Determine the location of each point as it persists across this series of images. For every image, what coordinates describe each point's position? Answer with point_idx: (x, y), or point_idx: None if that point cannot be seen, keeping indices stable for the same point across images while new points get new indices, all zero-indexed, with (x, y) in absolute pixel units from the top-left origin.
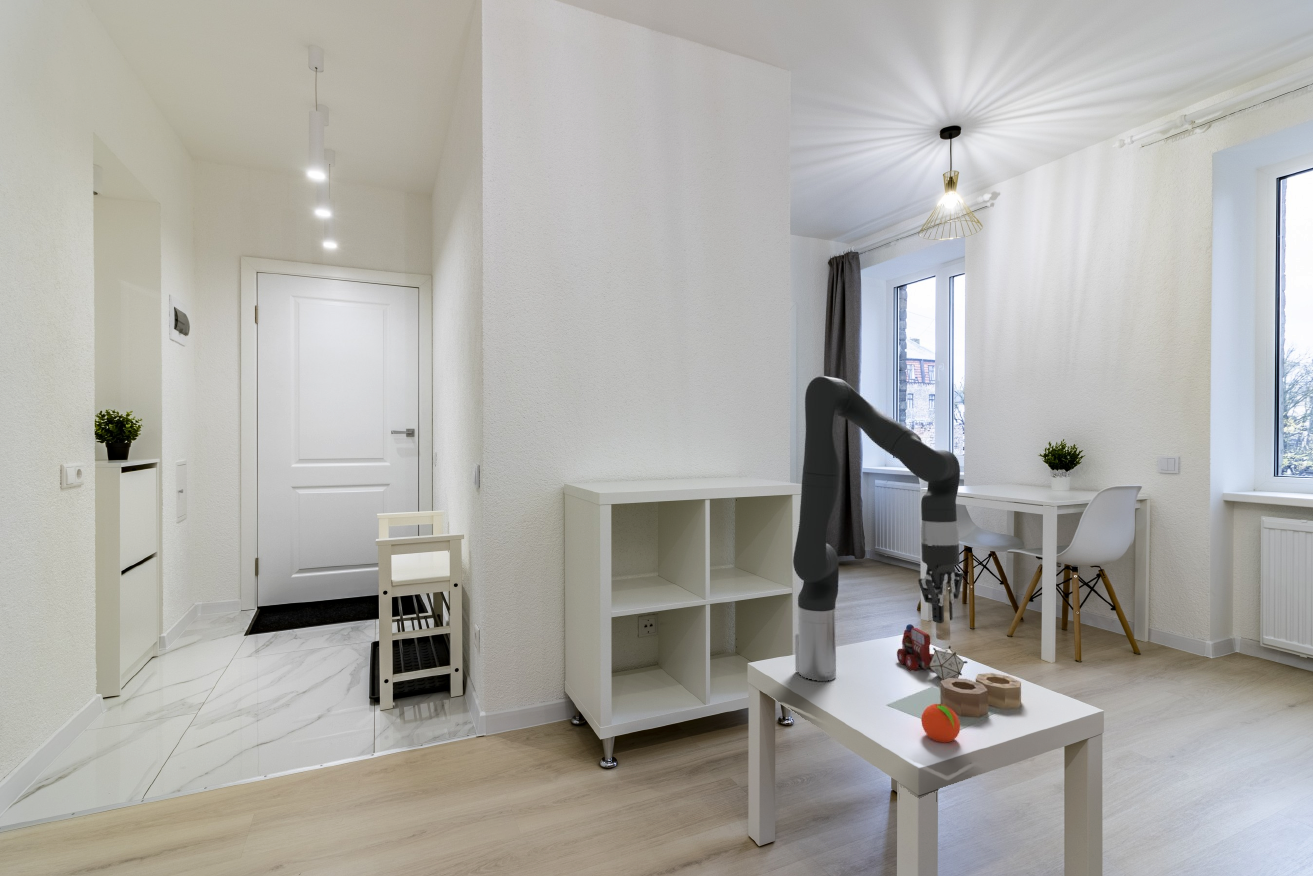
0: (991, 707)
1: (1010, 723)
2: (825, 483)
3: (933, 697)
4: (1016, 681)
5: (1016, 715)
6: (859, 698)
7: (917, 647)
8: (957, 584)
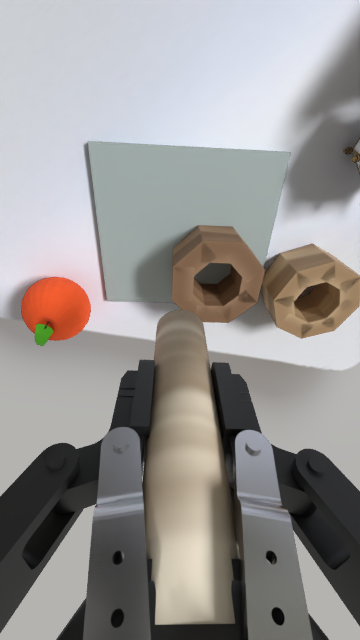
0: None
1: (220, 325)
2: None
3: (222, 195)
4: (332, 325)
5: (259, 319)
6: (70, 34)
7: None
8: (343, 601)
